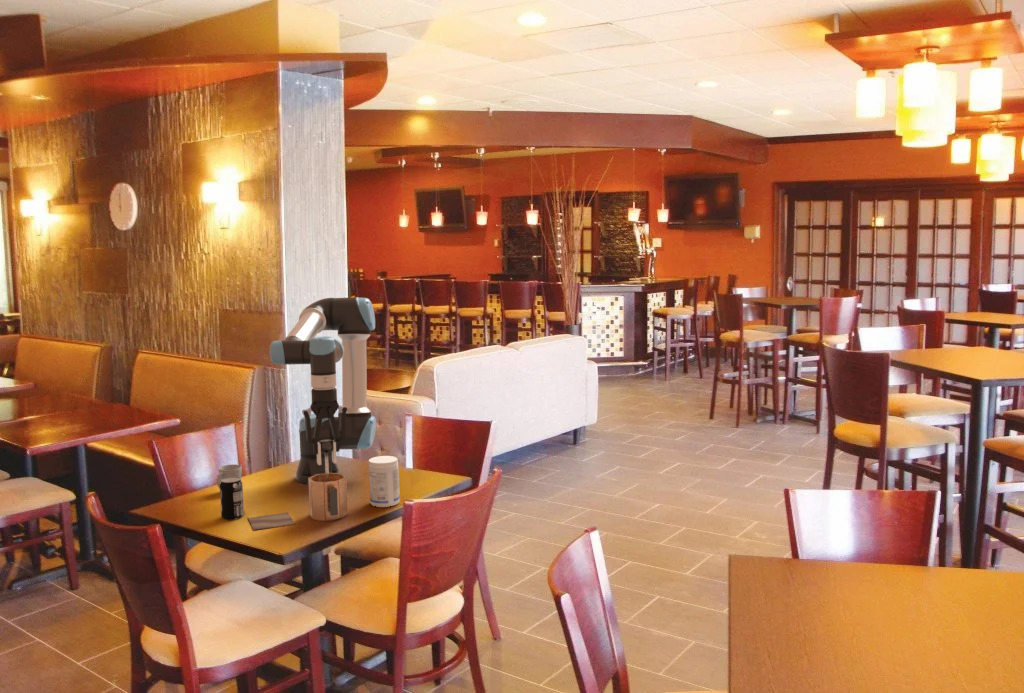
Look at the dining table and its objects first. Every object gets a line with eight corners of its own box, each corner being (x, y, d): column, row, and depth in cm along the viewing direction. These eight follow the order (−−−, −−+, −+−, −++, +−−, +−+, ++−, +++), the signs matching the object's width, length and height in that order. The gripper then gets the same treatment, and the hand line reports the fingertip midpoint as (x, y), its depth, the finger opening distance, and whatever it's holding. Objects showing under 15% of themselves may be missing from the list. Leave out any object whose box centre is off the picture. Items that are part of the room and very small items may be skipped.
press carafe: (307, 513, 263) (306, 475, 262) (341, 508, 267) (340, 471, 266) (316, 526, 251) (315, 486, 249) (352, 520, 255) (351, 482, 254)
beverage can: (221, 515, 262) (219, 477, 260) (243, 512, 264) (241, 475, 263) (221, 521, 256) (219, 483, 254) (244, 518, 258) (242, 480, 257)
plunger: (313, 494, 261) (310, 439, 259) (337, 490, 265) (335, 437, 263) (318, 500, 255) (316, 445, 252) (343, 497, 258) (341, 442, 256)
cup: (247, 489, 289) (246, 465, 288) (227, 497, 280) (226, 472, 279) (230, 487, 292) (229, 463, 291) (209, 495, 283) (208, 470, 282)
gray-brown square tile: (248, 518, 258) (248, 517, 258) (287, 513, 263) (287, 512, 263) (253, 530, 247) (253, 529, 247) (295, 524, 252) (295, 523, 252)
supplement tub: (390, 497, 279) (388, 453, 277) (405, 504, 271) (404, 459, 269) (364, 503, 272) (362, 458, 271) (379, 510, 265) (377, 464, 263)
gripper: (297, 392, 249) (301, 469, 251) (354, 387, 256) (357, 462, 258) (293, 388, 255) (296, 463, 258) (348, 383, 262) (351, 457, 265)
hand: (326, 462), depth 258 cm, fingers closed on plunger, 4 cm apart
